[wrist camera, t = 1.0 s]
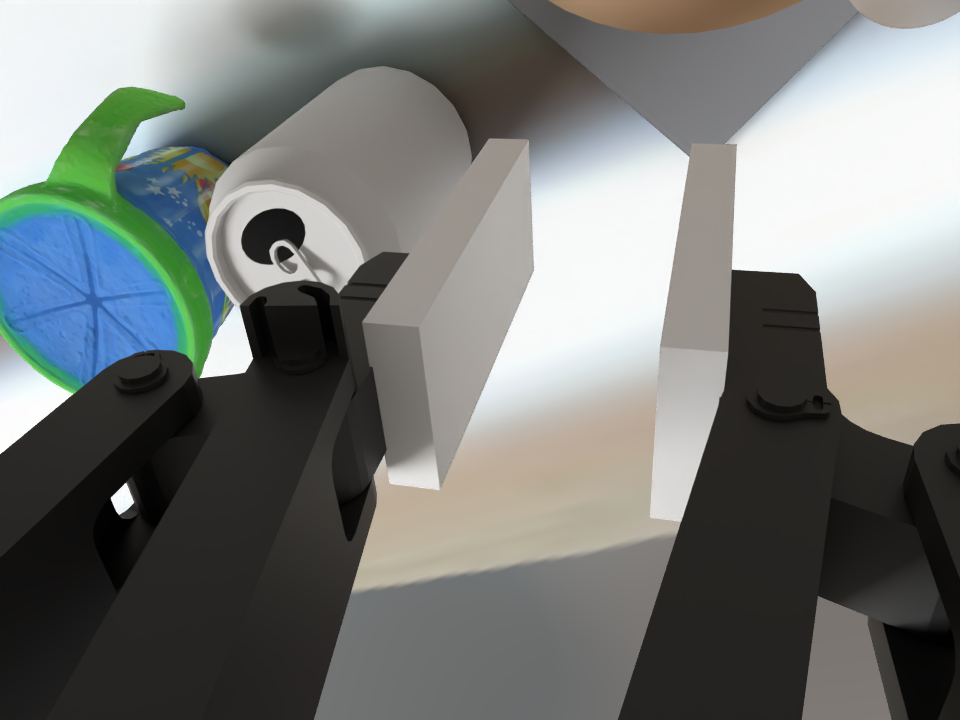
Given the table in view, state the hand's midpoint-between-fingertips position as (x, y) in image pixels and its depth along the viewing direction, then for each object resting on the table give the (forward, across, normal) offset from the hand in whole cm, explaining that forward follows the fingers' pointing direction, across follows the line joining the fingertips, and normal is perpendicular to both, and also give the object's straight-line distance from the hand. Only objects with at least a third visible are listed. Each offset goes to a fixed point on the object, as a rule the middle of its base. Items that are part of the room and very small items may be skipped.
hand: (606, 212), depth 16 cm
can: (+21, -12, -7) cm, 25 cm away
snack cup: (+21, -23, -10) cm, 33 cm away
